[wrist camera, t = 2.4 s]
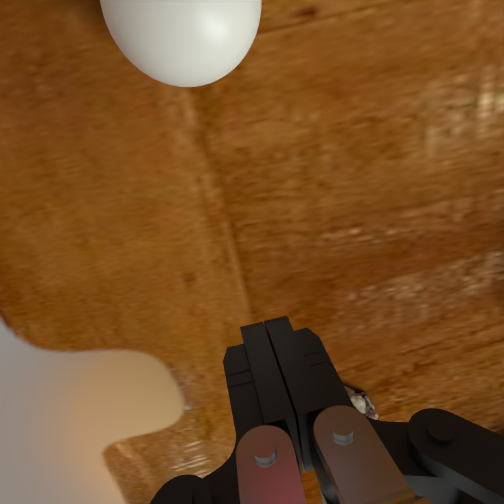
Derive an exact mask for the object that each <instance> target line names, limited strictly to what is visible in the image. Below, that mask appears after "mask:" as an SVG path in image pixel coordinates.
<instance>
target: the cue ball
mask: <svg viewBox="0 0 504 504" xmlns="http://www.w3.org/2000/svg"><path fill="white" fill-rule="evenodd" d="M261 1H262V0H100V4H101V8H102V12H103V16H104V19H105V22H106V25H107V27H108V29H109V32H110V34H111V36H112V38H113V39H114V41H115V43H116V44H117V46H118V47H119V49H120V50H121V51H122V53H123V54H124V55H125V56H126V58H127V59H128V60H129V61H130V62H131V63H132V64H133V65H134V66H136V67H137V68H138V69H139V70H141V71H142V72H143V73H145V74H146V75H148V76H150V77H151V78H153V79H156V80H158V81H160V82H162V83H166V84H169V85H173V86H179V87H195V86H202V85H205V84H209V83H212V82H214V81H216V80H219V79H220V78H222V77H224V76H225V75H227V74H228V73H229V72H231V71H232V70H233V69H234V68H235V67H236V66H237V65H238V64H239V63H240V62H241V61H242V59H243V58H244V57H245V55H246V54H247V52H248V50H249V49H250V47H251V45H252V43H253V40H254V38H255V36H256V33H257V29H258V25H259V21H260V15H261Z"/></svg>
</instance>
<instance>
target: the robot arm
mask: <svg viewBox="0 0 504 504" xmlns="http://www.w3.org/2000/svg"><path fill="white" fill-rule="evenodd" d="M264 326H265V327H264ZM240 329H241V334H242V339H243V343H244V344H240V345H236V346H232V347H228V348H227V351H226V354H225V357H224V360H223V365H224V370H225V376H226V381H227V387H228V392H229V398H230V403H231V409H232V414H233V420H234V425H235V431H236V444H235V447H234V450H233V452H232V454H231V456H230V457H229V459H228V460H227V461H226V462H225V463H224V464H223V465H222V466H221V467H219V468H218V469H217V470H215V471H214V472H212V473H211V474H209V475H207V476H206V477H204V478H203V479H202V478H200V477H198V476H195V475H181V476H177V477H175V478H173V479H171V480H169V481H168V482H167V483H165V484H164V485H163V486H162V487H161V488H160V489H159V491H158V492H157V493H156V495H155V496H154V498H153V499H152V501H151V503H150V504H306V500H305V495H304V491H303V486H302V480H301V473H303V468H302V462H303V465H304V468H305V471H310V470H313V469H314V470H315V473H316V476H317V479H318V481H319V484H320V491H321V498H322V501H323V503H324V504H504V437H503V436H501V435H498V434H496V433H494V432H492V431H490V430H488V429H485V428H483V427H481V426H479V425H477V424H474V423H472V422H470V421H468V420H466V419H464V418H461V417H459V416H457V415H455V414H453V413H450V412H448V411H445V410H441V409H435V408H429V409H423V410H420V411H418V412H417V413H415V414H414V415H413V416H412V417H411V419H410V421H409V422H386V421H379V420H375V419H372V418H370V417H368V416H366V415H364V414H363V413H361V412H360V411H359V410H358V409H357V408H356V407H355V406H354V404H353V403H352V401H351V399H350V397H349V395H348V393H347V391H346V389H345V387H344V385H343V383H342V381H341V379H340V378H339V376H338V374H337V372H336V370H335V368H334V366H333V364H332V363H331V360H330V358H329V356H328V354H327V352H326V350H325V348H324V346H323V344H322V342H321V340H320V338H319V337H318V336H317V335H316V334H314V333H313V332H312V331H311V330H309V329H308V328H304V329H300V330H296V331H293V328H292V326H291V324H290V321H289V319H288V317H287V316H283V317H279V318H275V319H271V320H266V321H264V324H263V322H259V323H255V324H251V325H247V326H243V327H240ZM301 459H302V461H301Z"/></svg>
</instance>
